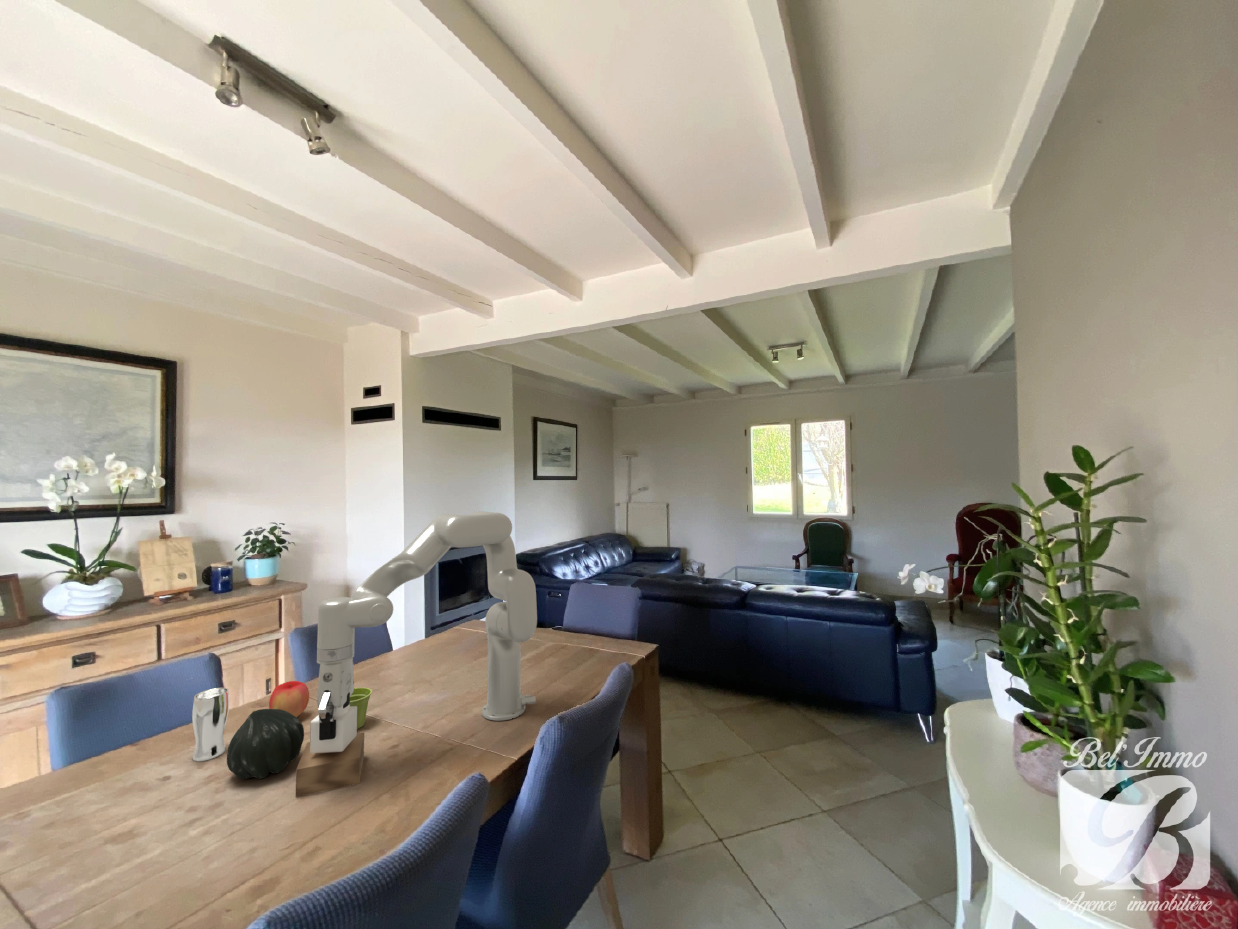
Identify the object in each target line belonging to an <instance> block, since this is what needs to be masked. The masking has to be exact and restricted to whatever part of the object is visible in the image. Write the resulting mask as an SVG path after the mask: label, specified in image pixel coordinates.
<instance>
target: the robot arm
mask: <svg viewBox="0 0 1238 929" xmlns="http://www.w3.org/2000/svg"><path fill="white" fill-rule="evenodd" d="M512 531H513V524H512V520H511V519H510V518H509V517H508V515H506V514H504V513H501V512H495V511H493V512H490V511H475V512H472V513H471V514H469V515H468V514H467V515H465V514H461V515H459V514H452V513H451V514H449V513H447V514H446V513H445V514H444V513H443V514H440V515H438V516H437V517H435V518H434V519H433V520H432V521H431V522H430V523H429V524H428V525H427V526H426V527H425V528H424V529H423V530H422V531H421V532H420V533H419V534H418V535H417V536H416V537H415V538H414V539H413V540H412V541H411V542H410V543H409V545H407V547H405V548H404V549H403V550H402V551H401V552H400V553H399V554H398V555H396V556H394V557H393V558H392V559H390V560H389V561H387V562H386V563H384V564H383V565H382V566H380V567H379V568H377V569H376V570H375V571H374V572H373V573H371V574H370V575H369V577H367V578H366V579H365V580H364V581H363V582H362V583H361V584H360V585H359V587H357V588H356V589H355V590H354V592H353V593H352V594H351V596H350V597H349V596H348V597H347V596H339V597H338V596H337V597H331V598H330V597H329V598H326V599H323V600H322V601H321V602H320V603H319V605H318V606H317V607H318V608H317V636H316V637H317V641H316V642H317V643H316V664H318V665H319V671H318V683H317V708H318V711H317V714H318V715H319V740H329V739H334V738H335V737H336V720H334V718H335V713H336V707H338V708H340V707H341V706H343V705H344V703H345V702H346V701H347V695H348V693H349V692H350V696H351V695H352V693H353V691H354V688H355V676H354V675H355V672H354V659H353V658H354V657H355V631H356V630H355V629H356V628H372V627H373V628H375V627H378V626H382V625H384V624H385V623H387V622H388V621H389V620H390V619H391V617H392V616H393V615H394V614H393V613H394V605H393V603H392V601H391V599H390V598H389V596H390V595H391V593H393V592H394V591H396V590H397V588H399V587H400V586H402V585H404V584H405V583H407V582H409V581H412V580H416V579H419V578H421V577H423V576H425V575H426V574H428V573H429V572H430V571H431V569H433V567H434V566H435V565H437V563H438V562H439V561H440V560H441V559H442V558H443V556H445V554H446V553H447V552H448V551H449V550H450V549H451V548H472V547H473V548H474V547H479V546H480V547H481V546H482V547H483V549H484V551H485V556H486V567H487V568H486V570H487V571H486V572H487V588H488V592H489V593H490V595H491V596H492V597H493V598H495V599H498V600H501V601H499V602H496V603H494V604H493V605H491V607H489V609H488V611H487V612H486V614H485V619H484V620H485V621H484V622H485V623H484V626H485V632H486V639H487V691H486V692H487V694H486V695H487V696H486V700H487V702H486V704H484V705H483V707H482V708H481V715H482V717H483V718H485V719H487V720H490V721H495V722H496V721H497V722H498V721H507V720H513V719H515V718H517V717H520V716H521V715H523V714H524V713H525V711H526V705H535V704H536V702H537V701H536V700H537V699H536V698H537V697H536V696H532V694H522V689H521V666H522V665H521V662H522V660H521V658H522V657H521V654H522V653H521V652H522V651H521V650H522V648H521V643H525V642H528V641H529V640H530V639H531V638H532V637H533V636H534V634H535V633H536V629H537V625H538V609H537V608H538V607H537V604H538V603H537V592H536V591H537V588H536V583H535V580H534V578H533V577H532V575H531V574H530V573H529V572H527V571H525V570H523V569H518V566H517V564H518V563H517V556H516V547H515V543H514V540H513V539H512V536H511V534H512ZM329 703H333V706H328V704H329ZM331 709H332V712H331V715H330V713H329V712H327V710H331ZM519 715H520V716H519ZM512 718H513V719H512Z"/></svg>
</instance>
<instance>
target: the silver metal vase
mask: <svg viewBox="0 0 1238 929" xmlns="http://www.w3.org/2000/svg"><path fill="white" fill-rule="evenodd" d="M229 709H230V696H229V688H227V687H216V688H211V689H205V690H202V691H201V692H198V693H197V694H195V695H194V697H193V704H192V713H191V714H192V715H191V717H192V729H193V733H194V737H195V738H194V739H195V747H194V751H193V755H192V760H193V761H194V762H204V761H205V762H206V761H210V760H213V759H216V758H217V757H219V756H221V755H222V754H224V753H225V751H226V746H225V742H224V741H225V739H224V734H225V729H226V726H227V721H228V717H229Z"/></svg>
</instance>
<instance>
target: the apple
mask: <svg viewBox="0 0 1238 929" xmlns="http://www.w3.org/2000/svg"><path fill="white" fill-rule="evenodd" d="M309 701H310V690H309V688H308V686H307V685H306V684H305V683H304V682H301V681H299V680H291V681H285V682H283V683H281V684H280V683H279V685H276V687H274V689H273V691H272V692H271V695H270V696H269V702H268V709H281V710H284V711H287V712H289V713H291V714H292V715H293V716H295V717H297V718H298V717H299V716H301V715H302V714H303V712H305V710H306V709H307V707H308V705H309Z"/></svg>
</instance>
